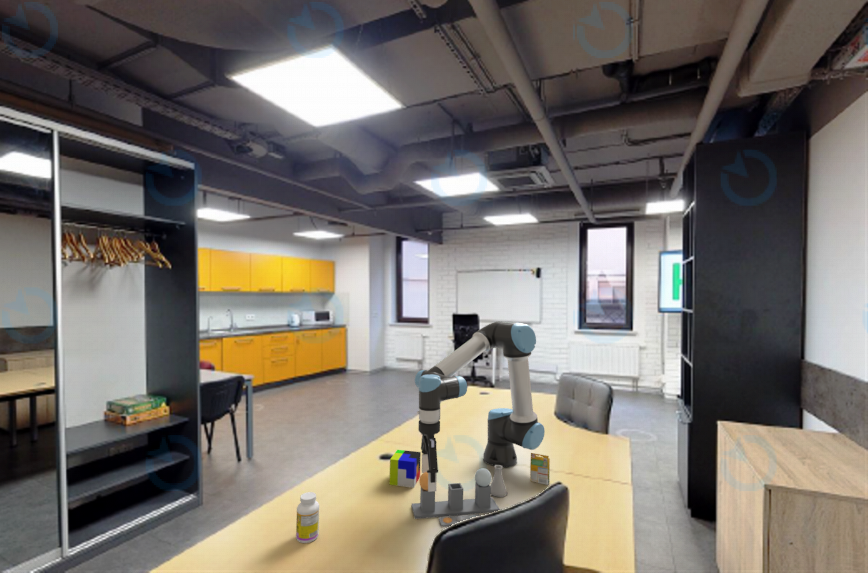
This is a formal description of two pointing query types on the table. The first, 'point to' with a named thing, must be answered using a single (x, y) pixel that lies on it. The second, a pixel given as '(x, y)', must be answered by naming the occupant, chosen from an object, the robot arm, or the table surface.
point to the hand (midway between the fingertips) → (428, 481)
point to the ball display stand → (454, 503)
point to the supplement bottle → (307, 518)
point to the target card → (454, 519)
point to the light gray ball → (483, 477)
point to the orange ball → (424, 481)
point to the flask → (498, 483)
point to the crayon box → (539, 468)
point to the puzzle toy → (405, 468)
